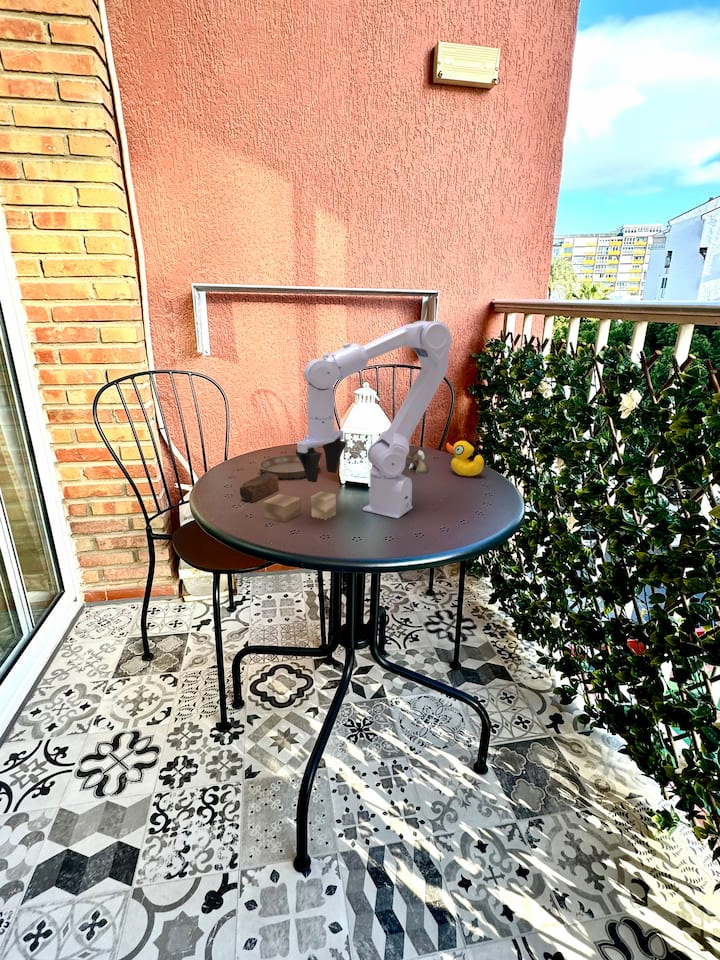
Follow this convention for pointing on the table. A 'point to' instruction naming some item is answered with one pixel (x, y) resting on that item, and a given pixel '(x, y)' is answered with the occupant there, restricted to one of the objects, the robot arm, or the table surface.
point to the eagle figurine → (418, 461)
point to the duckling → (460, 461)
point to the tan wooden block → (282, 508)
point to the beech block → (323, 505)
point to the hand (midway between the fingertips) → (322, 476)
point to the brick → (259, 487)
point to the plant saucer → (284, 466)
